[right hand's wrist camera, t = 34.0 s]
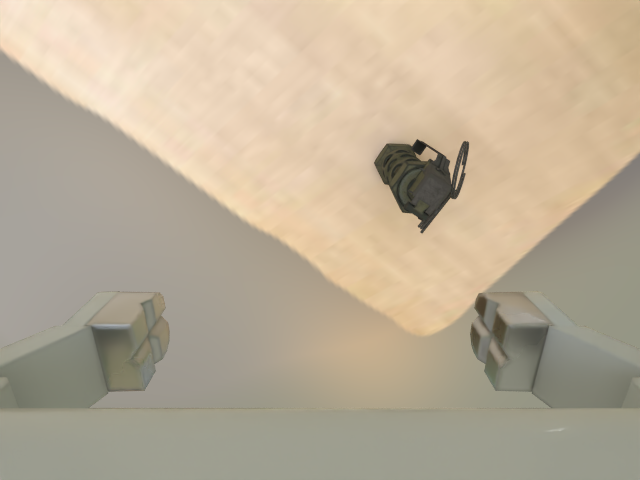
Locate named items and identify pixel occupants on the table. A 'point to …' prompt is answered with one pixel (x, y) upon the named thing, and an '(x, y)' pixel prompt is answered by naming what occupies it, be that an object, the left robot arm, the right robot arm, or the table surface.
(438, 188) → the grenade
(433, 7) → the table surface
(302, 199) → the table surface
